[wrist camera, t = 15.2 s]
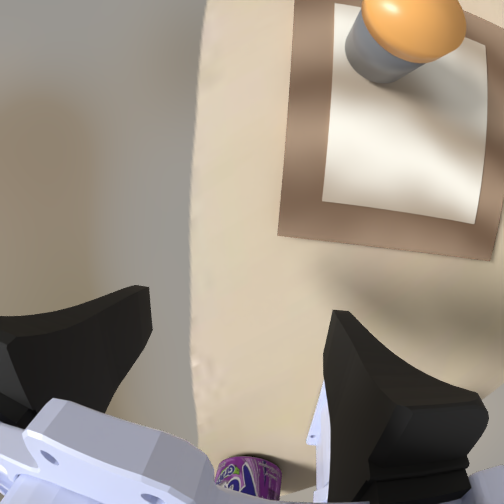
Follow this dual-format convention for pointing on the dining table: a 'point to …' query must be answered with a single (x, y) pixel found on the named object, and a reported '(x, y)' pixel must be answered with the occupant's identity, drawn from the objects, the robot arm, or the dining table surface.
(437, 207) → the board
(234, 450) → the dining table surface
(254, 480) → the beverage can
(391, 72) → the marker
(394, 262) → the dining table surface
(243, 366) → the dining table surface
